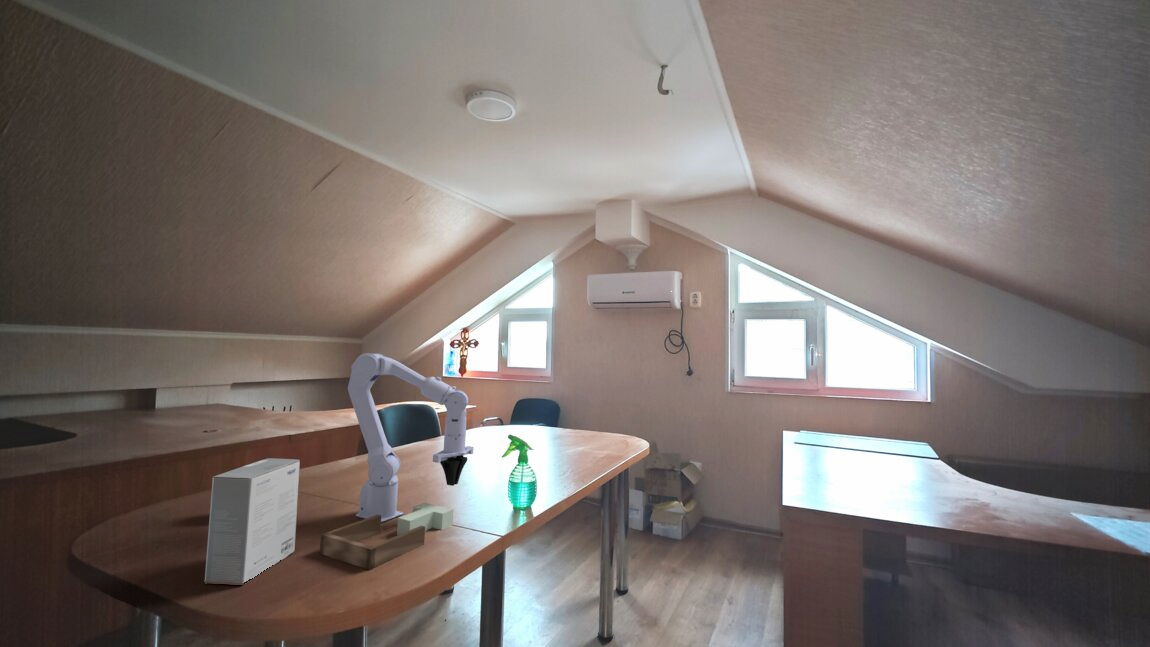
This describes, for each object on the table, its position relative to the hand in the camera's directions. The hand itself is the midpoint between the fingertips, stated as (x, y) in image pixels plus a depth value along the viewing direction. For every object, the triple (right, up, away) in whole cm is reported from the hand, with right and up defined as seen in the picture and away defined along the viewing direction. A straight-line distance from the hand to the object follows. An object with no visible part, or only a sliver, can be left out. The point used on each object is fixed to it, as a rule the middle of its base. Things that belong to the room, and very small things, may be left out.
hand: (452, 484), depth 127 cm
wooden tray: (-11, -6, -23) cm, 26 cm away
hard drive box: (-31, -5, -34) cm, 47 cm away
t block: (-5, -8, -10) cm, 14 cm away
